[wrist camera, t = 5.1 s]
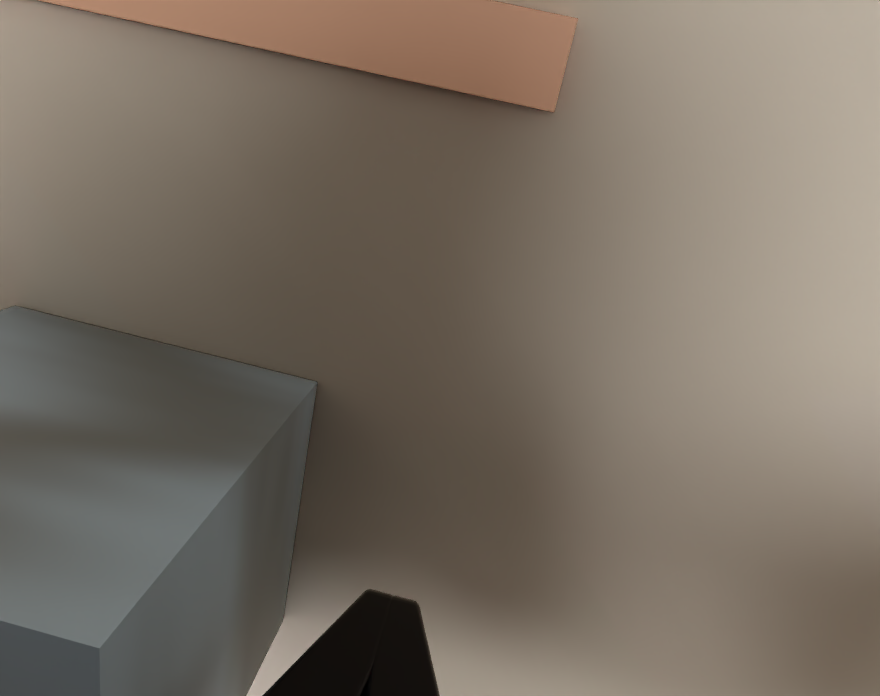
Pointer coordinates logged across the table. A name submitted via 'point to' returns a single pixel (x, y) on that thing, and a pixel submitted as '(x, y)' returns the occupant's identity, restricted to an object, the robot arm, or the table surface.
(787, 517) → the table surface
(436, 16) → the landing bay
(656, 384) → the table surface
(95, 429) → the cube
